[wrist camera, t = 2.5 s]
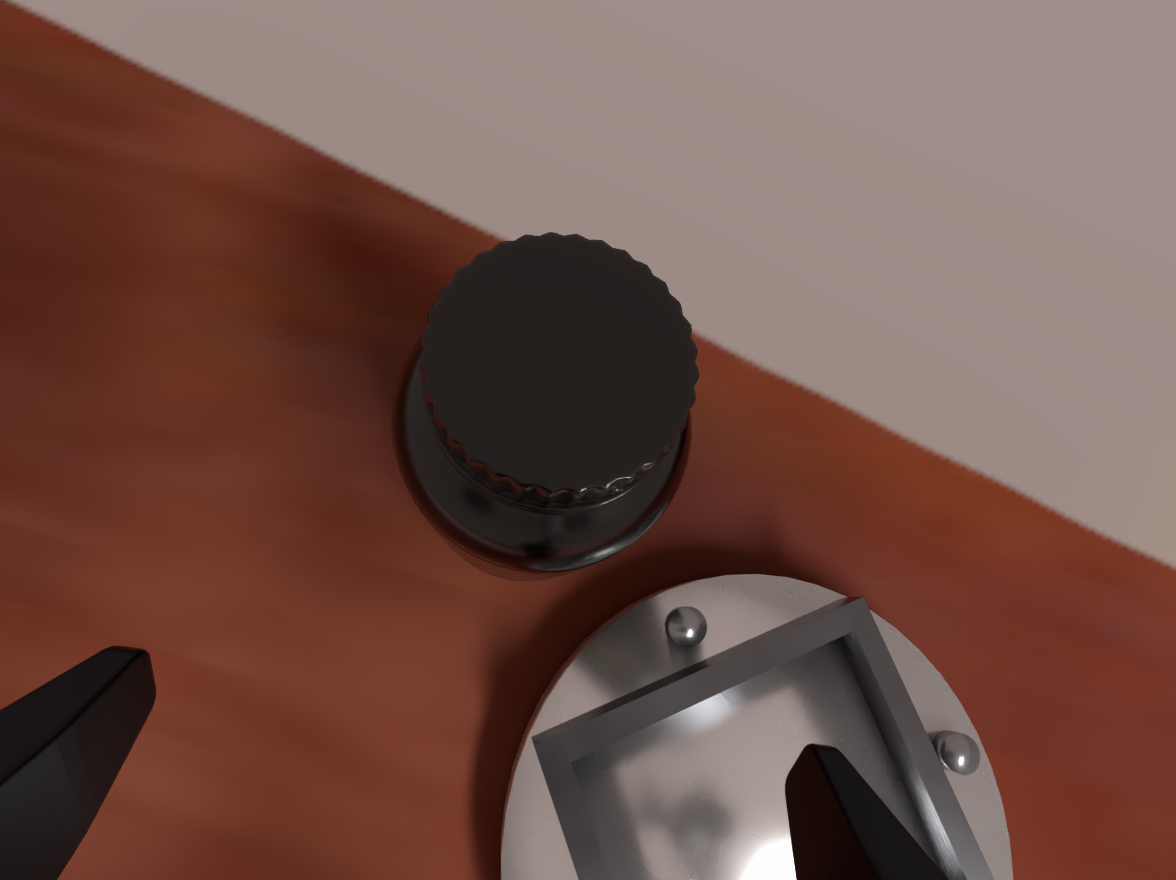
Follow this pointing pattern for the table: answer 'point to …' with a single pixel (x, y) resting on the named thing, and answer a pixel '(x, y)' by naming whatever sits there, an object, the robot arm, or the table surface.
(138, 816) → the table surface
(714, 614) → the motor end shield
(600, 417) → the supplement bottle
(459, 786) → the table surface
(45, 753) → the robot arm
